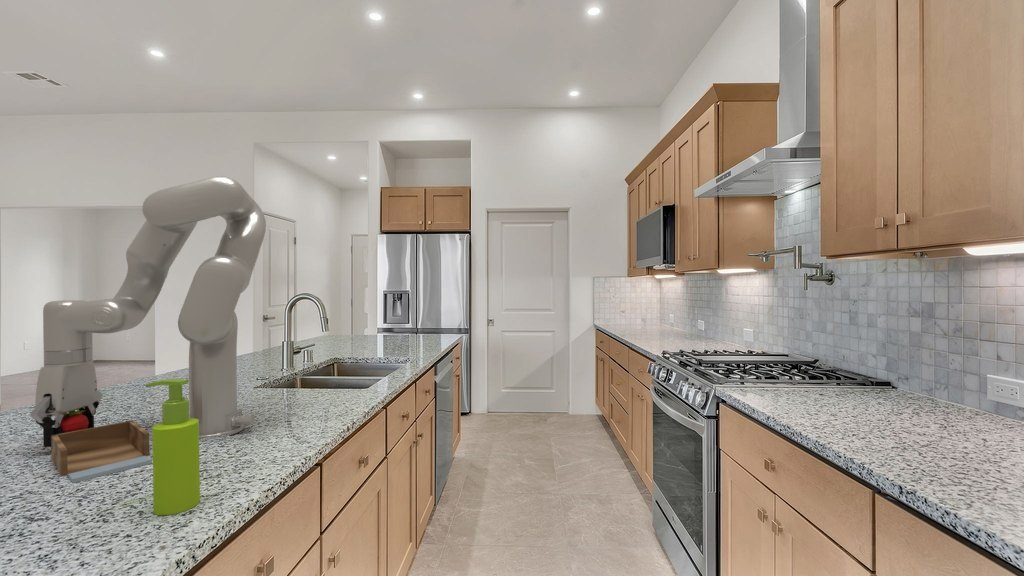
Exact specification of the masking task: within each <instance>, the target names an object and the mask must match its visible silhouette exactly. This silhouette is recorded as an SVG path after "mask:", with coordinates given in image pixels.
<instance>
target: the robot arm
mask: <svg viewBox="0 0 1024 576" xmlns="http://www.w3.org/2000/svg"><path fill="white" fill-rule="evenodd" d="M142 214H143V217H144V218H145V219H146V220H145V221H144V223H143V224H142V226H141V227H140V229H139V231H138V232H137V234H136V235H135V237H134V239H132V241H131V243H130V244H129V246H128V248H127V249H126V253H125V259H126V263H127V273H126V276H125V279H124V280H123V282H122V284H121V286H120V288H119V289H118V291H117V292H116V293H115V296H114V297H113V298H105V299H103V298H102V299H97V300H90V301H88V300H76V299H75V300H73V299H72V300H71V299H70V300H53V301H48V302H46V303H45V304H44V305H43V308H42V309H43V310H42V326H43V327H42V328H43V329H42V330H43V333H42V334H43V339H42V341H43V343H42V344H43V367H42V366H41V367H40V370H39V372H38V376H37V382H36V388H35V389H36V390H35V406H34V409H32V411H31V412H30V414H29V415H30V417H31V418H32V419H33V420H34V421H35V423H36V424H37V425H39V427H40V429H43V434H42V435H43V437H42V438H43V439H42V440H43V444H42V445H43V447H44V448H51V435H56V434H62V433H63V427H62V426H59V425H60V423H61V421H62V418H63V416H64V413H69V412H70V411H73V410H75V411H83V412H82V414H83V415H85V416H86V417H87V418H88V421H89V424H88V427H87V429H89V428H94V427H95V415H96V414H97V408H98V407H99V405H100V402H101V399H103V395H104V394H103V393H102V392H101V391H99V390H98V381H97V380H98V379H97V373H96V369H95V363H94V360H93V359H94V358H93V357H94V356H93V355H94V354H93V353H94V352H93V334H115V333H119V332H124V331H126V330H127V331H128V330H131V329H134V328H135V327H137V326H138V325H140V324H141V323H142V321H144V319H145V318H146V317H147V315H148V314H149V312H150V311H151V309H152V307H153V305H154V304H155V302H156V301H157V299H158V297H159V295H160V293H161V291H162V290H163V289H162V288H163V286H164V284H165V282H166V279H167V278H168V275H169V271H170V269H171V266H172V265H173V264H174V262H175V260H176V258H177V257H178V255H179V254H180V252H181V251H182V249H183V247H184V246H185V244H186V242H187V241H188V239H189V237H190V236H191V234H192V233H193V231H194V229H195V228H196V227H197V224H198V222H201V221H204V220H205V221H206V220H208V219H209V220H210V219H211V218H216V217H221V218H223V219H224V221H225V223H226V226H225V230H224V232H223V234H222V235H221V238H220V241H219V244H218V248H217V250H216V251H215V254H214V256H211V257H208V258H207V259H205V260H203V262H202V263H201V264H200V265H199V267H198V268H197V269H196V272H195V274H194V276H193V278H192V280H191V283H190V285H189V289H188V291H187V294H186V296H185V299H184V300H183V304H182V307H181V309H180V311H179V312H180V313H179V315H178V319H177V327H178V331H179V332H180V334H181V336H182V337H183V338H184V339H185V340H187V341H188V342H189V346H188V347H189V348H188V393H189V394H188V398H189V399H188V400H189V418H195V419H198V420H199V439H200V438H202V439H204V438H211V437H218V436H222V435H227V436H232V435H235V434H237V433H240V432H242V431H243V430H244V429H245V428H246V425H250V426H251V425H253V424H254V423H255V422H254V421H255V417H254V415H253V414H243V412H242V409H241V408H240V409H238V379H237V378H238V377H237V374H238V372H237V369H238V368H237V365H238V363H237V362H238V361H237V360H238V359H237V358H238V356H237V355H238V353H237V348H238V346H237V345H238V344H237V343H238V329H239V327H238V326H239V325H238V317H237V312H235V309H236V307H237V304H238V302H239V299H240V297H241V294H242V293H243V292H244V291H245V290H246V289H247V288H248V287H249V285H250V282H251V277H252V275H253V271H254V269H255V266H256V263H257V260H258V257H259V253H260V250H261V247H262V245H263V242H264V240H265V239H264V238H265V234H266V227H267V224H266V223H267V222H266V219H265V218H266V217H265V214H264V212H263V210H262V208H261V207H260V206H259V204H258V203H257V202H256V201H255V200H254V199H253V197H252V196H251V195H250V194H249V193H248V192H247V190H245V188H244V187H243V185H241V183H239V182H238V181H236V180H235V179H233V178H231V177H228V176H227V177H226V176H213V177H211V176H210V177H206V178H203V179H199V180H195V181H192V182H191V181H190V182H187V183H181V184H178V185H174V186H171V187H167V188H162V189H159V190H157V191H154V192H152V193H151V194H149V195H148V196H147V197H146V198H145V199H144V201H143V203H142ZM84 410H85V411H84ZM52 417H54V419H52Z"/></svg>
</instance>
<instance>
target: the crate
mask: <svg viewBox="0 0 1024 576" xmlns="http://www.w3.org/2000/svg"><path fill="white" fill-rule="evenodd" d="M50 448H51V449H50V450H51V451H50V452H51V460H52V462H53V464H54V466H55V468H56V470H57V471H58V473H59V475H60V476H61V477H66V476H67V474H69V473H74V472H78V471H82V470H86V469H90V468H95V467H99V466H103V465H107V464H112V463H116V462H120V461H124V460H128V459H133V458H137V457H141V456H145V455H146V456H147V457H149V456H150V455H151V454H150V432H149V431H147V430H146V429H145V428H144V427H142V426H141V425H139V424H138V423H137V422H135V421H134V420H127V421H121V422H117V423H116V422H115V423H111V424H106V425H100V426H94V428H89V429H83V430H78V431H72V432H67V433H62V434H56V435H51V447H50Z"/></svg>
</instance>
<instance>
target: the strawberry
mask: <svg viewBox="0 0 1024 576" xmlns="http://www.w3.org/2000/svg"><path fill="white" fill-rule="evenodd" d="M84 411H85V410H84ZM82 412H83V411H77V410H73V411H70V412H67V413H64V416H63V418H62V421H61V423H60V425H59V426H62V427H63V433H67V432H72V431H78V430H83V429H87V427H88V424H89V421H88V418H87V417H86V416H85V415H83V414H82Z"/></svg>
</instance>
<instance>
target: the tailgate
mask: <svg viewBox="0 0 1024 576" xmlns="http://www.w3.org/2000/svg"><path fill="white" fill-rule="evenodd" d="M150 464H153V458H150V457H149V456H146V455H145V456H141V457H137V458H133V459H128V460H124V461H120V462H116V463H112V464H107V465H103V466H99V467H95V468H90V469H86V470H82V471H78V472H74V473H69V474H67V477H68V478H69V480H70V482H71V483H72V484H75V483H79V482H83V481H86V480H91V479H96V478H99V477H103V476H107V475H111V474H114V473H118V472H124V471H126V470H131V469H135V468H139V467H142V466H147V465H150Z"/></svg>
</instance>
